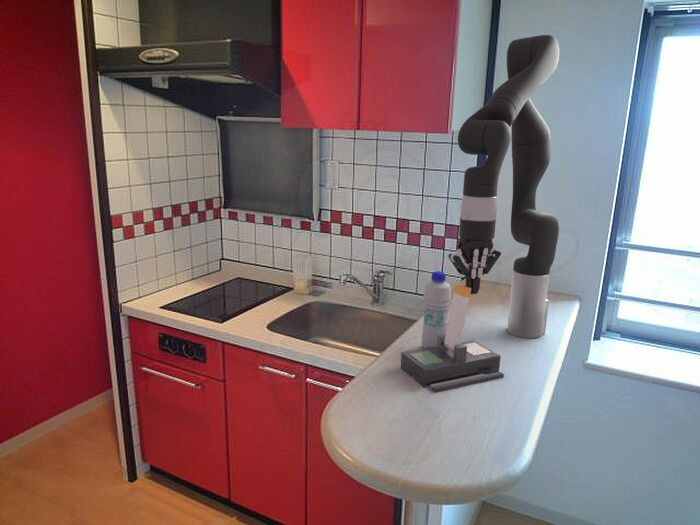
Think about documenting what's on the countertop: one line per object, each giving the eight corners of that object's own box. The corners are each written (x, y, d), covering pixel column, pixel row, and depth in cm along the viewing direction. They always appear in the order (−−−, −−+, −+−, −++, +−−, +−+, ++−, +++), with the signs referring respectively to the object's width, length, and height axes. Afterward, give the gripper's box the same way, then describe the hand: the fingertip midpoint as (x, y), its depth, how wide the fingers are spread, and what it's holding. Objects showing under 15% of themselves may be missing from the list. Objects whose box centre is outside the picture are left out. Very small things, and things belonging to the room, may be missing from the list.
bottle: (447, 355, 128) (452, 276, 123) (419, 352, 129) (424, 274, 124) (447, 344, 134) (453, 269, 129) (421, 342, 135) (425, 267, 131)
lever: (448, 346, 121) (460, 283, 118) (459, 353, 117) (472, 288, 114) (442, 346, 120) (454, 283, 117) (453, 354, 116) (466, 288, 113)
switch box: (471, 355, 128) (474, 327, 126) (499, 371, 119) (501, 342, 118) (400, 368, 120) (402, 339, 118) (424, 387, 111) (426, 356, 109)
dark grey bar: (497, 373, 118) (497, 370, 118) (503, 377, 117) (503, 374, 116) (429, 388, 111) (430, 384, 111) (435, 392, 109) (435, 388, 109)
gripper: (491, 212, 119) (485, 285, 123) (442, 215, 113) (437, 291, 118) (514, 217, 112) (506, 294, 117) (463, 221, 107) (457, 301, 111)
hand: (471, 293), depth 117 cm, fingers closed
